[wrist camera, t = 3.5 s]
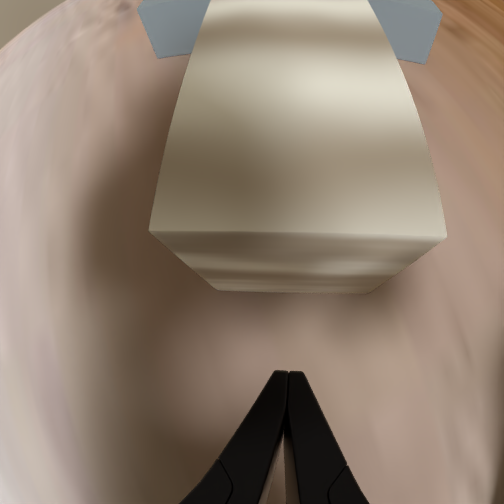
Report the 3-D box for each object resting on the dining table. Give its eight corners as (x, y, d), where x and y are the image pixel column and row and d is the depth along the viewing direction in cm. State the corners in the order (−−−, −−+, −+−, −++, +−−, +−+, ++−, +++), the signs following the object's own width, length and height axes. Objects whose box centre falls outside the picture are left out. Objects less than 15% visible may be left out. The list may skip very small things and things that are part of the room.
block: (367, 294, 16) (447, 236, 7) (217, 290, 17) (148, 230, 8) (343, 80, 20) (355, -20, 12) (238, 79, 21) (218, -20, 13)
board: (425, 64, 20) (442, 13, 14) (157, 58, 23) (136, 9, 17) (417, 49, 21) (432, 0, 15) (164, 44, 24) (146, -4, 18)
